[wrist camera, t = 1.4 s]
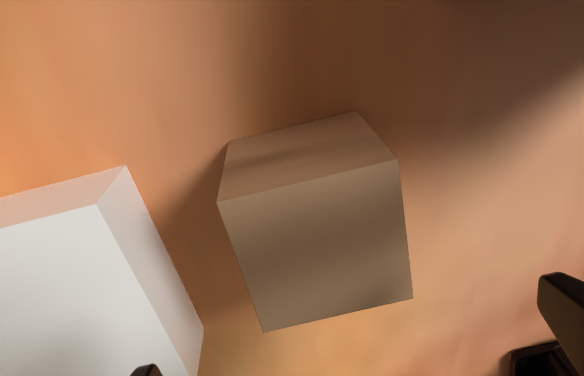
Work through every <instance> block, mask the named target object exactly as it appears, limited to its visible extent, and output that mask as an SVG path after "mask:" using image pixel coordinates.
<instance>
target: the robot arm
mask: <svg viewBox="0 0 584 376" xmlns="http://www.w3.org/2000/svg"><path fill="white" fill-rule="evenodd" d="M537 306H538V309H539V311H540V313H541V315H542V316H543V318H544V319H545V321H546V323H547V324H548V326H549V327H550V329H551V331H552V332H553V334H554V335H555V337H556V338H557V340H558V342H555V343H551V344H546V345H542V346H537V347H533V348H528V349H524V350H520V351H517V352H515V353H514V354H513V355H512V357H511V368H510V376H584V282H583V281H581V280H579V279H576V278H574V277H572V276H569V275H567V274H565V273H562V272H554V273H549V274H545V275H542V276H540V278H539V281H538V294H537ZM130 376H163V375H162V373H161V371H160V370H159V368H158V366H157V365H156V364H147V365H143V366H139V367H137V368H136V369H135V370H134V371H133V372H132V373H131V375H130Z"/></svg>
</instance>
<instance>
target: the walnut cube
mask: <svg viewBox="0 0 584 376" xmlns="http://www.w3.org/2000/svg"><path fill="white" fill-rule="evenodd" d="M216 203H217V206H218V209H219V212H220V214H221V217H222V220H223V223H224V225H225V228H226V231H227V234H228V236H229V239H230V242H231V245H232V247H233V250H234V253H235V256H236V259H237V261H238V264H239V267H240V270H241V272H242V275H243V278H244V281H245V283H246V286H247V289H248V292H249V294H250V297H251V300H252V303H253V305H254V308H255V311H256V314H257V316H258V319H259V322H260V325H261V327H262V330H263V333H264V332H268V331H272V330H277V329H281V328H285V327H290V326H294V325H299V324H303V323H307V322H312V321H316V320H320V319H325V318H329V317H334V316H338V315H342V314H347V313H351V312H355V311H360V310H364V309H369V308H373V307H377V306H382V305H386V304H390V303H395V302H399V301H404V300H408V299H412V298H413V289H412V280H411V271H410V262H409V253H408V244H407V235H406V226H405V217H404V208H403V199H402V190H401V181H400V172H399V163H398V158H397V157H396V156H395V155H394V154H393V152H392V151H391V150H390V149H389V148H388V147H387V145H386V144H385V143H384V142H383V141H382V140H381V138H380V137H379V136H378V135H377V134H376V133H375V131H374V130H373V129H372V128H371V127H370V126H369V124H368V123H367V122H366V121H365V120H364V119H363V117H362V116H361V115H360V114H359V113H358V112H357V110H355V111H351V112H347V113H343V114H339V115H335V116H331V117H327V118H322V119H318V120H314V121H310V122H306V123H302V124H298V125H294V126H290V127H286V128H282V129H277V130H273V131H269V132H265V133H261V134H257V135H253V136H249V137H245V138H241V139H236V140H232V141H229V142H228V147H227V151H226V156H225V161H224V166H223V171H222V176H221V181H220V186H219V191H218V196H217V201H216Z"/></svg>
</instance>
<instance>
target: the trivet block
mask: <svg viewBox="0 0 584 376" xmlns="http://www.w3.org/2000/svg"><path fill="white" fill-rule="evenodd" d="M203 334H204V327H203V325H202V323H201V321H200V319H199V317H198V315H197V312H196V310H195V308H194V306H193V304H192V302H191V300H190V298H189V296H188V294H187V292H186V290H185V287H184V285H183V283H182V281H181V279H180V277H179V275H178V273H177V271H176V269H175V267H174V264H173V262H172V260H171V258H170V256H169V254H168V252H167V250H166V248H165V246H164V244H163V242H162V239H161V237H160V235H159V233H158V231H157V229H156V227H155V225H154V223H153V221H152V219H151V217H150V214H149V212H148V210H147V208H146V206H145V204H144V202H143V200H142V198H141V196H140V194H139V191H138V189H137V187H136V185H135V183H134V181H133V179H132V177H131V175H130V173H129V171H128V169H127V166H126V165H124V166H120V167H116V168H112V169H108V170H104V171H100V172H97V173H93V174H89V175H85V176H81V177H77V178H73V179H70V180H66V181H62V182H58V183H54V184H50V185H46V186H43V187H39V188H35V189H31V190H27V191H23V192H20V193H16V194H12V195H8V196H4V197H0V376H130V375H131V373H132V372H133V371H134V370H135V369H136V368H137V367H139V366H143V365H147V364H156V365H157V366H158V368H159V370H160V371H161V373H162V375H163V376H197V373H198V367H199V360H200V354H201V347H202V341H203Z"/></svg>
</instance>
